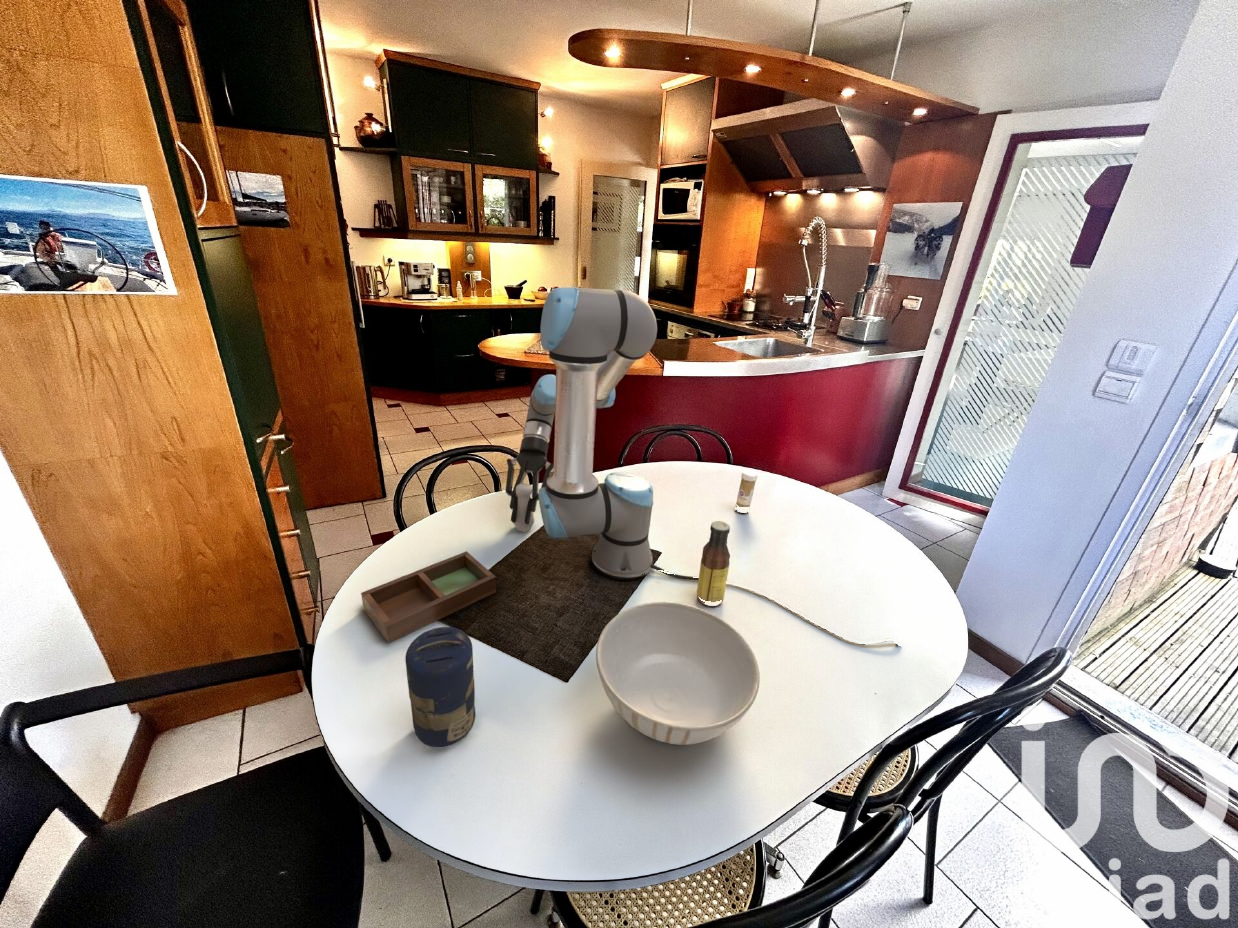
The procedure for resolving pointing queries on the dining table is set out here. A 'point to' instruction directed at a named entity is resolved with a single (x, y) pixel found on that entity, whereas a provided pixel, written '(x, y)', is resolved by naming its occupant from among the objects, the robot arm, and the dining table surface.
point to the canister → (441, 686)
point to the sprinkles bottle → (746, 488)
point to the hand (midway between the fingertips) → (519, 522)
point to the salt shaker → (523, 507)
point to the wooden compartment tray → (427, 595)
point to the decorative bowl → (676, 672)
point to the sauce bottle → (714, 564)
